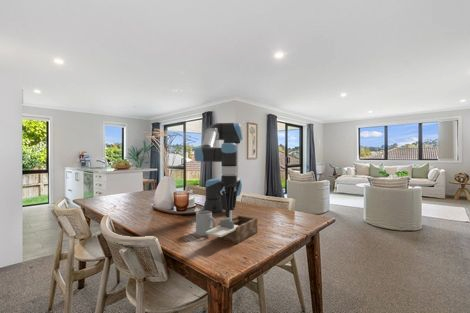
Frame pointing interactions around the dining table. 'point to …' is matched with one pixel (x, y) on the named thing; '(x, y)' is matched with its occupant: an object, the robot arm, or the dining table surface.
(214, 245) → the dining table surface
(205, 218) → the mug
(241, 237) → the box
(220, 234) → the lid
